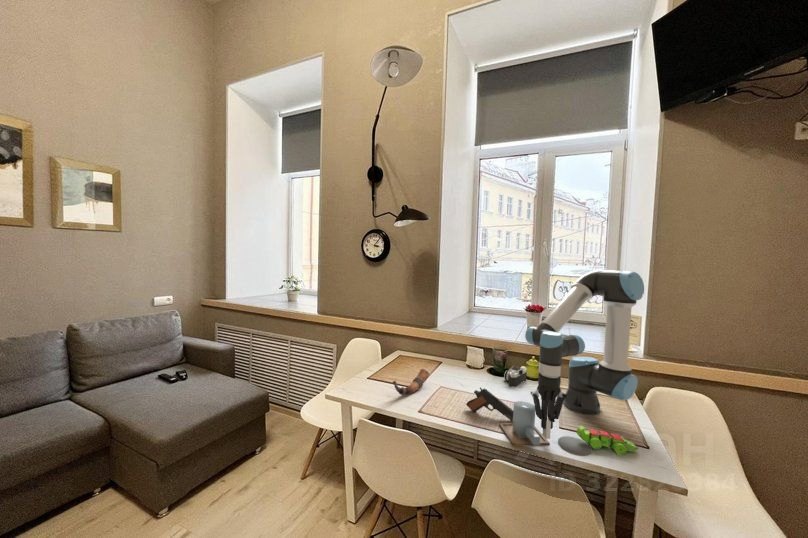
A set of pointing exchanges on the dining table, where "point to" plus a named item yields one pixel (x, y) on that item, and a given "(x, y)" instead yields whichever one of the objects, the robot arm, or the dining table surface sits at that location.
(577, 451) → the disc
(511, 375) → the camera
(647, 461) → the dining table surface
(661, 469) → the dining table surface
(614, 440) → the toy crocodile
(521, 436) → the grey l-shaped block
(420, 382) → the drinking horn
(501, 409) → the handgun
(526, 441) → the brown square tray
